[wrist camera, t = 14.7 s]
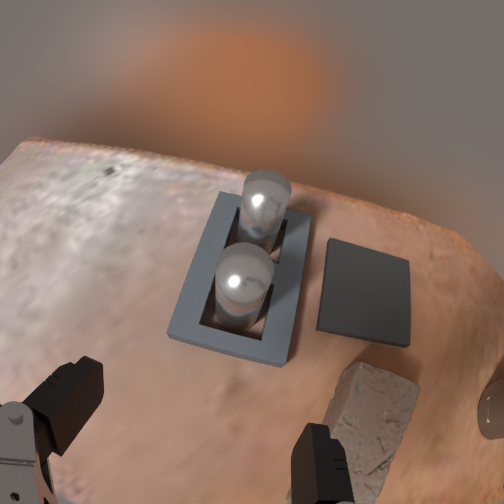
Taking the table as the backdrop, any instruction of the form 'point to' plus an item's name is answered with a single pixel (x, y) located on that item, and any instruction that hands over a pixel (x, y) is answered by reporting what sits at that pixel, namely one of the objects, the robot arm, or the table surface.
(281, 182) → the cylinder
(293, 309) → the grey slotted holder
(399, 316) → the mat
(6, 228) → the table surface
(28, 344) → the table surface
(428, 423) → the table surface
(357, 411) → the brick
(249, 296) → the cylinder
